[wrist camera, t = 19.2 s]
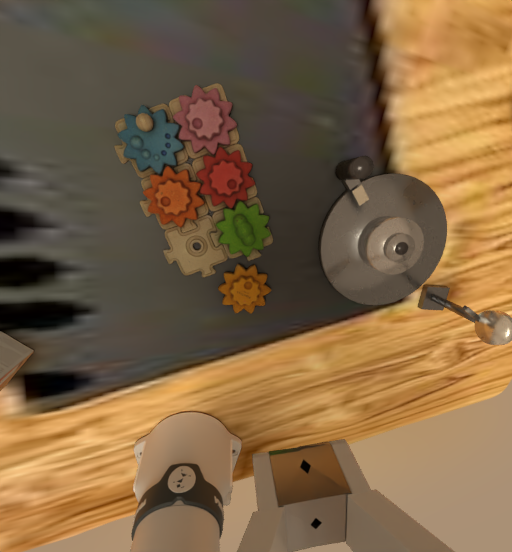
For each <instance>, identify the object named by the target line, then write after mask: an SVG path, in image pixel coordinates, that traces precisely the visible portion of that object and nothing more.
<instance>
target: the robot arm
mask: <svg viewBox="0 0 512 552" xmlns="http://www.w3.org/2000/svg"><path fill="white" fill-rule="evenodd" d="M241 447H242V441H241V440H240V439H239V438H238V437H236V436H234V435H232V434H230V433H229V432H228V431H227V429H226V428H225V427H224V425H223V424H222V423H221V422H220V421H218V420H217V419H215V418H214V417H212V416H209V415H206V414H203V413H197V412H186V413H180V414H176V415H173V416H170V417H168V418H166V419H164V420H163V421H161V422H160V423H159V424H158V425H157V426H156V427H155V428H154V429H153V430H152V432H151V433H150V434H148V435H147V436H145V437H143V438H141V439H139V440H138V441H137V442H136V443H135V446H134V453H135V456H136V460H137V463H138V469H137V473H136V477H135V481H134V486H133V491H134V492H135V495H136V498H137V500H138V502H139V505H138V508H137V511H136V513H135V517H134V522H133V529H132V541H133V542H132V546H131V550H130V552H220V547H219V546H220V544H219V543H220V542H219V540H220V537H221V535H222V530H223V521H224V511H223V505H229V504H230V500H231V492H232V473H233V470H234V468H235V465H236V462H237V459H238V456H239V453H240V451H241ZM252 458H253V469H254V478H255V487H256V496H257V505H258V511H256V512H253V514H252V517H251V519H250V521H249V524H248V526H247V529H246V531H245V534H244V536H243V538H242V541H241V543H240V546H239V548H238V550H237V552H293V551H298V550H302V549H306V548H310V547H315V546H321V545H327V544H332V543H339V542H345V541H346V544H347V545H348V546H349V547H350V548H351V550H352V551H353V552H454V551H453V550H452V549H451V548H449V547H448V546H447V545H446V544H444V543H443V542H442V541H440V540H439V539H438V538H437V537H435V536H434V535H433V534H432V533H430V532H429V531H428V530H427V529H425V528H424V527H423V526H422V525H420V524H419V523H418V522H416V521H415V520H414V519H413V518H411V517H410V516H409V515H407V514H406V513H405V512H404V511H402V510H401V509H400V508H399V507H397V506H396V505H395V504H394V503H392V502H391V501H390V500H388V499H387V498H386V497H385V496H384V495H382V494H381V493H380V492H379V491H377V490H371V489H370V487H369V485H368V483H367V481H366V479H365V477H364V475H363V473H362V471H361V469H360V467H359V466H358V463H357V461H356V459H355V457H354V455H353V453H352V451H351V449H350V447H349V445H348V443H347V442H346V441H345V440H344V439H342V440H336V441H330V442H322V443H317V444H311V445H306V446H300V447H298V448H291V449H284V450H276V451H269V452H263V453H256V454H252Z"/></svg>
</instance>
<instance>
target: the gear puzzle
mask: <svg viewBox="0 0 512 552" xmlns="http://www.w3.org/2000/svg"><path fill="white" fill-rule="evenodd" d="M231 109H232V103H231V102H228V101H227V99H226V95H225V93H224V90H223V87H222V86H221V85H220V84H213V85H211V86H208V87H205V88H203V89H201V88H200V87H199V86H198V85H195V87H194V89H193V92H192V97H188V96H186V95H184V96H179V98H176V99H173V100H172V101H171V102H170V103H169V106H167V105H166V104H160V105H157V106H155V107H152V108H150V109H149V110H148V109H147V108H146V107H145V106H144V105H141V107H140V109H139V111H138V116H137V117H136V116H133V115H129V114H125V115H124V118H123V119H120V120H118V121H117V122H116V124H115V127H116V130H117V132H118V137H119V138H120V139H121V140H122V143H123V144H122V145H116V146H114V147H115V150H116V152H117V154H118V156H119V159H120V161H121V163H123V164H125V163H126V162H128V161H129V160H131V162H132V164H133V166H134V169H135V171H136V173H137V174H138V176H140V177H141V178H143V180H142V181H141V185H142V187H143V189H144V191H143V194H144V195H145V196H146V197H147V200H143V201H140V204H141V207H142V209H143V211H144V213H145V215H146V217H149V216H150V215H151V214H153V213H154V214H155V215H156V217H157V220H158V222H159V224H160V226H161V227H162V228H163V229H166V232H165V237H166V239H167V241H168V244H169V246H170V249H166V250H164V251H163V252H164V254H165V256H166V259H167V261H168V263H169V264H171V263H173V261H177V263H178V265H179V267H180V270H181V272H182V273H183V274H184V275H190V274H193V273H195V272H198V271H201V272H202V277H203V278H204V277H207V276H209V275H212V274H215V273H216V270H215V269H214V268H213V266H214V265H217V264H219V263H222V262H224V261H226V260H227V258H228V257H230V258H236V257H238V256H241V255H243V254H244V255H245V256H246V257H247V260H248V261H250V260H252V259H255V258H258V257H260V256H261V254H260V252H259V251H258V250H263V247H264V246H267V245H269V244H271V243H272V242H273V238H272V234H271V232H270V229H269V227H266V228H265V225H266V224H267V223H268V221H269V216H266V215H259V214H263V213H264V211H263V208H262V205H261V202H260V200H259V199H258V198H257V197H255V196H256V194H257V190H256V186H255V182H254V180H253V178H252V177H249V176H248V174H249V172H250V170H251V168H252V164H251V163H248V162H247V159H246V156H245V153H244V150H243V148H242V146H241V145H239V144H237V142H238V141H239V134H238V131H237V128H236V127H237V123H236V122H235V121H234V120H233V119H232V118H231V117H229V114H230V112H231ZM189 157H190V158H192V159H194V161H193V163H192V165H190V164H188V163H186V162H187V161H188V158H189ZM209 210H211V211H214V213H213V215H212V216H210V215H208V212H209ZM195 242H198V243H200V245H201V248H200V249H198V250H196V249H194V247H193V244H194V243H195ZM224 279H225V281H226V283H224V284H222V285H220V286H219V287H218V290H219V291H220V292H222V293H223V294H225V296H224V298H223V302H222V303H223V304H224V305H233V309H234V312H235V313H238V312H240V311H241V310H242V309H245V310H246V311H247V312H249V313H253V311H254V308H255V305H258V306H264V305H265V300H264V297H263V296H264V295H267V294H268V293H269V292H271V289H270V288H269V287H268V286H267V285H265V284H264V283H265V282H266V280H267V274H263V273H261V274H257V269H256V266H255V265H252V266H250V267H249V268H247V269H245V268H244V267H243V266H242V265H240V264H237V265H236V267H235V271H234V273H232V272H224Z"/></svg>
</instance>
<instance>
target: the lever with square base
mask: <svg viewBox="0 0 512 552" xmlns="http://www.w3.org/2000/svg"><path fill="white" fill-rule="evenodd" d="M449 289H450V288H448V287H446V286H435V285H424V286H423V290H422V293H421V297H420V300H419V304H418V307H419V308H421V309H428V310H443V308H444V307H445V308H447V309H449V310H451V311H453V312H455V313H457V314H458V315H460V316H462V317H464V318H466V319H468V320H470V321H472V322H474V323H475V331H476V333H477V335H478V337H479V338H480V339H481V340H482V341H483V342H485V343H487V344H491V345H504V344H508V343H509V342H511V341H512V318H511V317H510V316H509V315H508V314H506V313H504V312H501V311H484V312H482V313H480V314H479V315H477V314H476V313H475V312H474V311H472V310H471V309H470V308H469V307H467V306H464V307H461V306H459V305H456V304H454V303H452V302H450V301H448V300H446V299H447V295H448V292H449Z"/></svg>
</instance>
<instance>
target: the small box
mask: <svg viewBox="0 0 512 552" xmlns="http://www.w3.org/2000/svg"><path fill="white" fill-rule="evenodd" d="M33 352H34V350H32V349H30V348H29V347H27V346H25V345H23V344H22V343H20V342H18V341H17V340H15V339H13V338H12V337H10V336H8V335H6V334H5V333H3V332H1V331H0V391H1V390H2V389H3V388H4V387H5V386H6V385H7V384H8V383H9V381H10V380H11V379H12V377H13V376H14V375H15V374H16V372H17V371H18V370H19V369H20V368H21V366H22V365H23V364H24V363H25V362H26V360H27V359H28V358H29V357H30V356H31V354H32V353H33Z"/></svg>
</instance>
